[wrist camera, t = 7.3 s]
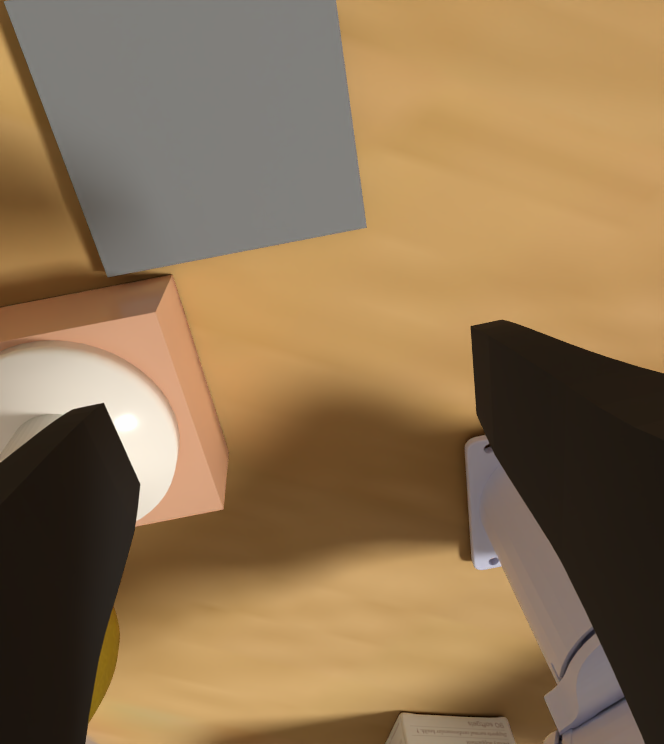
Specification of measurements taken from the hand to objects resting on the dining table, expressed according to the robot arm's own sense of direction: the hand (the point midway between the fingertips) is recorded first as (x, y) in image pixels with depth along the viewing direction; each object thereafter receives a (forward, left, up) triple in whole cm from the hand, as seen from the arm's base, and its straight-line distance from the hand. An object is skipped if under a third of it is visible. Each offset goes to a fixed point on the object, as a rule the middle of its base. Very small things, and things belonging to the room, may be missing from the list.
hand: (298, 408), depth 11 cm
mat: (+2, -5, -10) cm, 11 cm away
